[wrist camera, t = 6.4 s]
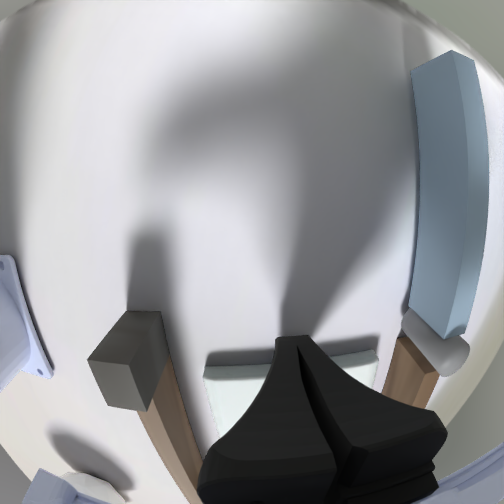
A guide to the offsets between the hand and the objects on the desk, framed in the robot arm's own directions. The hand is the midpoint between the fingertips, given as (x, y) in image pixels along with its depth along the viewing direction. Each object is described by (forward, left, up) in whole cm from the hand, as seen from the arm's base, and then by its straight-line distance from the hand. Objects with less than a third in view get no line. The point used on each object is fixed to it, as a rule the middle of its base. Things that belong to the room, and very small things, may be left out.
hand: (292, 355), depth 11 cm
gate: (+6, +6, 0) cm, 8 cm away
